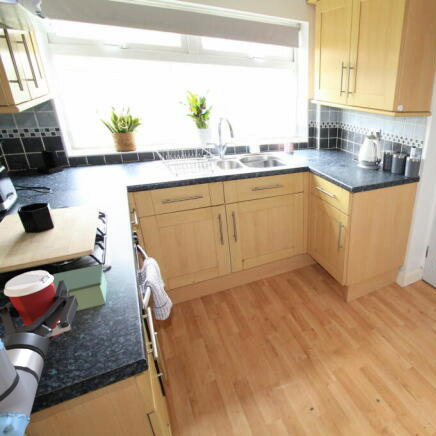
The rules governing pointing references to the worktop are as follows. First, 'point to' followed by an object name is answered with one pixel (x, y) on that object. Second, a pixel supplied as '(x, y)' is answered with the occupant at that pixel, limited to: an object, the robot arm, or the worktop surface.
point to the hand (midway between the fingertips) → (42, 290)
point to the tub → (85, 285)
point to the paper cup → (32, 295)
